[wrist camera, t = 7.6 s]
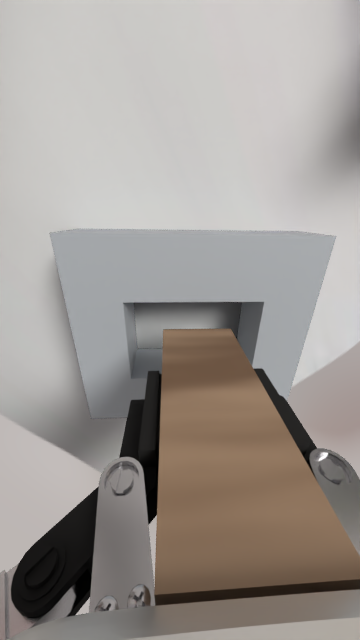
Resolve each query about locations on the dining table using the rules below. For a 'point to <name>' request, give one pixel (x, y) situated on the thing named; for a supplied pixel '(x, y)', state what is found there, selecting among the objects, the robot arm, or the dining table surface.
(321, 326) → the dining table surface
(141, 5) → the dining table surface
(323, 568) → the wood grain block
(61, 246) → the well block
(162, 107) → the dining table surface
